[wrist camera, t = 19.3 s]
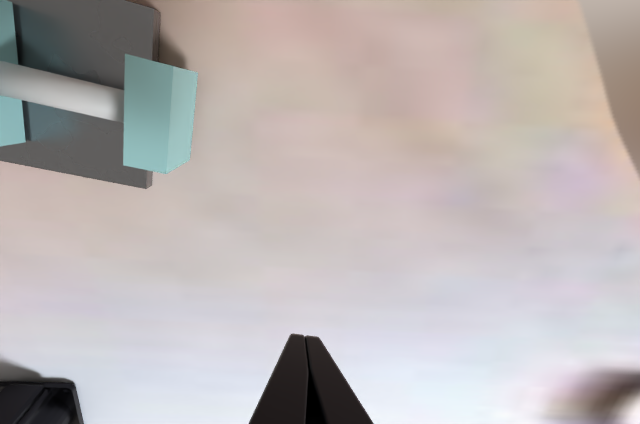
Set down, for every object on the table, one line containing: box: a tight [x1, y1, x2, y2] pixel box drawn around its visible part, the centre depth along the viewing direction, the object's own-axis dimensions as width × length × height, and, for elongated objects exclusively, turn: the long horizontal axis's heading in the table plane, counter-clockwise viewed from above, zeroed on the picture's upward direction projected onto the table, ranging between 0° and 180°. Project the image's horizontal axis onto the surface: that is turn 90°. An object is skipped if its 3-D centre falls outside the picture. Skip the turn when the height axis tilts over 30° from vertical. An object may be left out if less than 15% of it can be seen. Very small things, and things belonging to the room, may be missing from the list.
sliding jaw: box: [0, 0, 198, 174], centre depth 15 cm, size 11×7×4 cm, turn 76°
